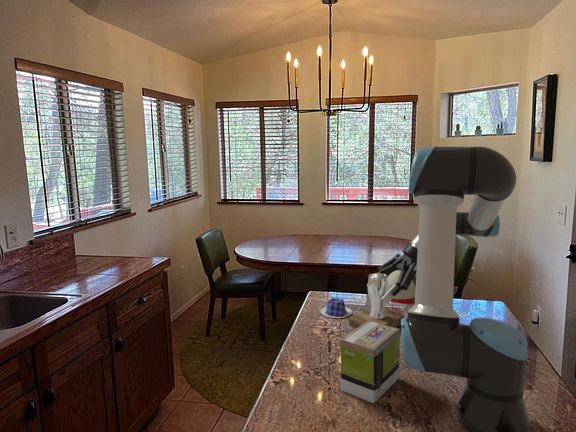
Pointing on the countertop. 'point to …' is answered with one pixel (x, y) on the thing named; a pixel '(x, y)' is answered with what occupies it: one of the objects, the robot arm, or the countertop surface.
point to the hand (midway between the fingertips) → (376, 294)
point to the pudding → (336, 309)
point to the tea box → (370, 360)
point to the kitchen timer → (403, 295)
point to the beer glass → (377, 295)
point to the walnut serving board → (390, 320)
